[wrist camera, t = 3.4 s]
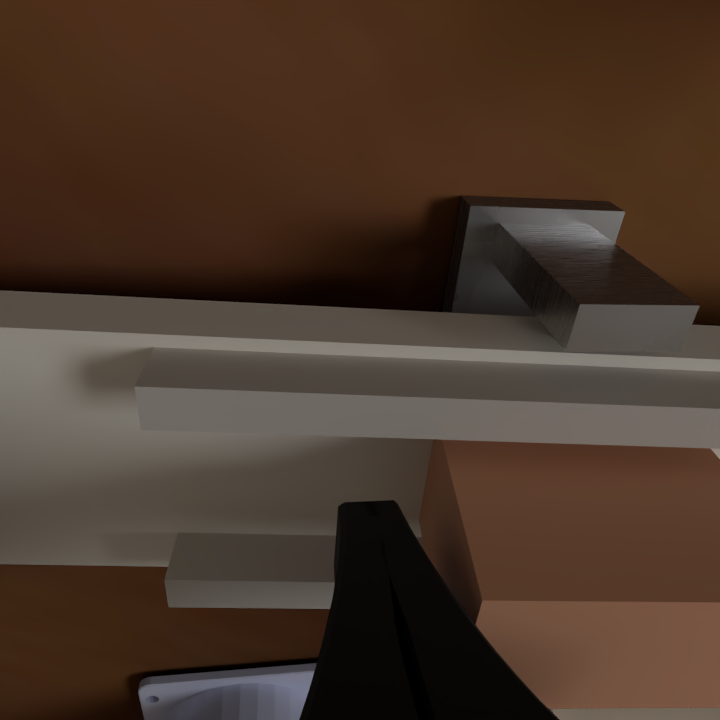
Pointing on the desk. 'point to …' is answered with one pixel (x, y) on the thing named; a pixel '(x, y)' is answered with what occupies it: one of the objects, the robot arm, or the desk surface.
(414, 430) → the beam
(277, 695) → the robot arm
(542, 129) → the desk surface
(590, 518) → the block
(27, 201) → the desk surface
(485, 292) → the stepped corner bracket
